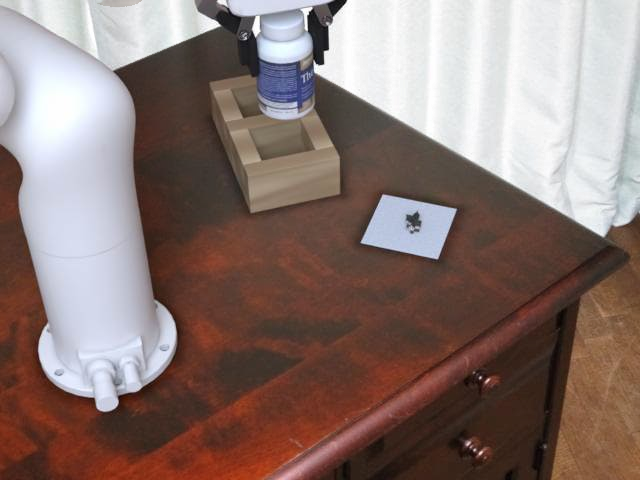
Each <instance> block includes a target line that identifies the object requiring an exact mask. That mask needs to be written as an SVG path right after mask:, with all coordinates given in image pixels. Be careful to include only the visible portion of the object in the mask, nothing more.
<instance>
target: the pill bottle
mask: <svg viewBox="0 0 640 480" xmlns="http://www.w3.org/2000/svg"><path fill="white" fill-rule="evenodd" d="M255 37H256V40H257V48H258V61H259V75H258V77H256V80H257V93H258V103H259V108H260V110H261V111H262V112H263V113H264V114H265V115H267V116H269V117H270V118H274V119H279V120H292V119H297V118H300V117H303V116H305V115H306V114H307V113H309V112H310V111H311V110H312V109H313V107H315V104H316V103H315V102H316V87H315V61H314V53H313V40H312V37H311V35H310V34H309V33H308V30H306V23H305V13H304V12H303V11H302V9H297V10H291V11H285V12H279V13H273V14H267V15H261V16H259V32H258V33H257V35H255Z"/></svg>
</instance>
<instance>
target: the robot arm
mask: <svg viewBox="0 0 640 480" xmlns="http://www.w3.org/2000/svg"><path fill="white" fill-rule="evenodd" d="M218 1H219V0H194V5H195V7H196V10H197V12H198V13H200V14H201V15H203V16H205V17H207V18H209V19H211V20H212V21H213V20H214V21H215V22H216V23H218V25H219V26H221V27H223V28H224V29H225V30H227V31H229V32H230V33H232V34H233V35H234V36H236V46H237V47H236V48H237V57H238V60H239V63H240V66H241V67H243V66H246V67H247V70H248V72H249V75H251V77H252V78H253V77H258V75H259V61H258V48H257V40H256V35H255V33H254V30H253V28H254V24H255V21H256V19H257V18H256V17H260V16H261V15H267V14H273V13H279V12H285V11H291V10H297V9H300V10H302V9H303V10H304V9H307V8H311V9H310V10H308V14H307V15H306V20H307V21H306V24H307V31H308V33H309V34H310V35H311V37H312V40H313V53H314V64H315V65H317V66H325V52H329V51H330V29H329V27H330V26H331V25H332V24H333V22H334V17H335V16H336V15H337V14H338V13H339V11H341V9H342V8H343V7H344V6H345V5H346V4H347V2H348V0H225V2H226V5H225V4H223V3H222V4H221V3H219V2H218ZM128 89H129V88H128V87H127V86H126V85H125V83H124V82H123V81H122V80H121V78H120V77H119V76H118V75H117V74H116V73H115V72H114V71H113V69H111V68H110V67H109V66H108V65H106V64H105V63H104V62H103V61H101V60H100V59H98V58H96V57H95V56H94V55H92V54H90V53H89V52H88V51H86V50H84V48H83V49H82V48H81V47H79V46H78V45H76V44H75V43H72V42H71V41H70V40H68V39H66V38H64V37H62V36H61V35H58V34H57V33H56V32H55V33H54V32H53V31H51V30H50V29H48V28H46V27H45V26H43V25H42V24H40V23H38V22H37V21H35V20H34V19H31V18H30V17H28V16H27V15H24V14H23V13H21V12H18V11H17V10H15V9H12V8H9V7H7V6H4V5H2V4H0V145H1V146H2V147H3V148H5V149H6V150H7V151H8V152H9V153H10V154H11V155H12V156H13V157H14V158H15V159H16V160H17V162H18V165H19V166H20V169H21V172H22V181H21V184H20V187H19V191H18V199H17V200H18V209H19V215H20V219H21V220H20V221H21V224H22V227H23V232H24V235H25V238H26V241H27V246H28V249H29V253H30V257H31V261H32V265H33V268H34V272H35V276H36V280H37V285H38V289H39V292H40V295H41V300H42V303H43V307H44V311H45V315H46V319H47V322H46V325H44V327H43V329H42V331H41V334H40V337H39V340H38V348H37V352H38V359H39V363H40V365H41V368H42V371H43V372H44V374H45V376H46V377H47V379H48V380H49V381H50V382H51V383H53V384H54V385H55V386H56V387H58V389H59V388H60V389H61V390H63V391H64V392H66V393H69V394H72V395H75V396H79V397H84V398H89V399H90V398H93V399H94V402H95V407H96V409H97V410H98V411H100V412H103V413H107V412H111V411H113V410H115V409H116V408H117V407H118V406H119V396H122V395H125V394H129V393H137V392H139V391H140V390H141V389H142V388H143V387H145V386H146V385H148V384H149V383H151V382H154V381H155V380H156V379H157V378H158V377H159V376H160V375H161V374H162V373H164V371H166V369H167V368H168V367H169V365H170V364H171V362H172V360H173V358H174V356H175V355H176V352H177V351H176V350H177V347H178V332H177V326H176V322H175V320H174V317H173V315H172V314H171V313H170V311H169V310H168V308H167V307H166V306H164V305H163V304H162V303H161V302H160V301H158V300H157V299H155V296H154V291H153V283H152V278H151V272H150V266H149V259H148V254H147V248H146V243H145V242H146V241H145V235H144V230H143V225H142V224H143V223H142V217H141V212H140V207H139V201H138V195H137V188H136V182H135V180H136V179H135V171H134V169H135V168H134V149H135V147H134V146H135V137H136V135H135V134H136V122H137V121H136V108H135V103H134V100H133V97H132V94H131V93H130V91H129V90H128Z"/></svg>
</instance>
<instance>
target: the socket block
mask: <svg viewBox="0 0 640 480" xmlns="http://www.w3.org/2000/svg"><path fill="white" fill-rule="evenodd" d="M208 85H209V95H210V105H211V115H212V120H213V123H214V125H215V127H216V130H217V133H218V135H219V138H220V141H221V143H222V145H223V148H224V150H225V153H226V155H227V159H228V160H229V162H230V165H231V167H232V170H233V172H234V175H235V178H236V180H237V182H238V185H239V188H240V190H241V193H242V194H243V198H244V200H245V203H246V205H247V208H248V210H249V213H250V214H253V213H258V212H263V211H268V210H272V209H278V208H282V207H286V206H292V205H296V204H300V203H306V202H311V201H315V200H321V199H324V198H329V197H334V196H339V195H341V157H340V155H339V152H338V151H337V149H336V147H335V145H334V144H333V141H332V140H331V138H330V136H329V134H328V132H327V130H326V128H325V126H324V124H323V122H322V119H320V116H319V115H318V113H317V110H316V108H315V106H313V109H312V110H311V111H310V112H309V113H307V114H306V115H305V116H303V117H300V118H297V119H292V120H279V119H274V118H270V117H269V116H267V115H265V114H264V113H263V112H262V111H261V110H260V108H259V103H258V93H257V80H256V77H253V78H252V77H251V74H246V75H242V76H236V77H231V78H224V79H220V80H215V81H214V80H213V81H210V82H208Z"/></svg>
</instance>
